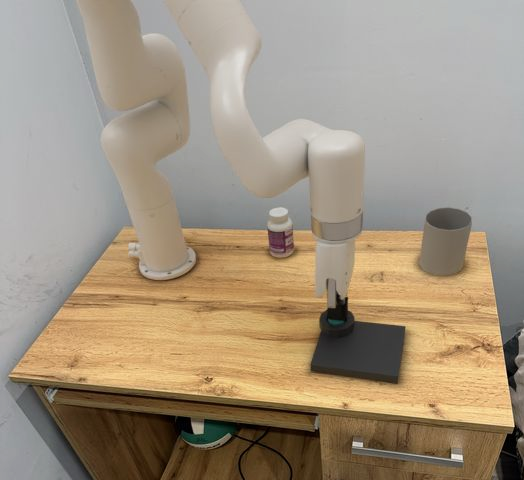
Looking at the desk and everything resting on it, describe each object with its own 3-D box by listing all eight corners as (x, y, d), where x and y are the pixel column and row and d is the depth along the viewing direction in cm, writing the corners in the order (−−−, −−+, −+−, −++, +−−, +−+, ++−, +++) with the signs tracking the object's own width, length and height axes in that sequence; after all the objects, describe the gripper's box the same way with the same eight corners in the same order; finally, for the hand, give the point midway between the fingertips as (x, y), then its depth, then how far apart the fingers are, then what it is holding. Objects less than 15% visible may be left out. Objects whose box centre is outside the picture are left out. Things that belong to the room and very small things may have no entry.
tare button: (326, 329, 86) (326, 321, 85) (330, 318, 88) (329, 310, 87) (343, 331, 86) (344, 323, 84) (346, 320, 88) (347, 312, 86)
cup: (450, 280, 96) (459, 235, 89) (411, 267, 100) (417, 223, 93) (470, 259, 100) (479, 214, 93) (431, 247, 104) (438, 203, 97)
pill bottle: (292, 259, 107) (289, 218, 100) (268, 258, 108) (263, 218, 101) (296, 245, 110) (293, 205, 104) (272, 244, 111) (268, 205, 105)
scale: (308, 371, 82) (307, 356, 80) (323, 320, 91) (323, 305, 89) (397, 383, 78) (399, 368, 76) (405, 329, 87) (407, 314, 85)
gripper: (322, 196, 79) (324, 289, 92) (299, 248, 69) (306, 344, 82) (369, 198, 77) (366, 293, 90) (354, 251, 67) (352, 349, 80)
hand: (337, 317), depth 86 cm, fingers closed
